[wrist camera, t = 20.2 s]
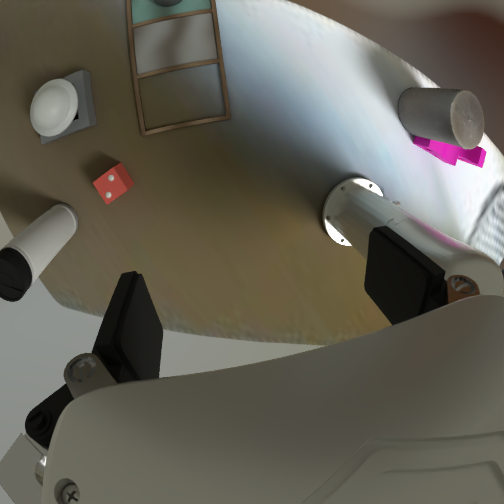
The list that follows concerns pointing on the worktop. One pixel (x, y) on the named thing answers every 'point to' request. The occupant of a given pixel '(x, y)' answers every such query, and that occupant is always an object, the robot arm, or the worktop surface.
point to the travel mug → (34, 250)
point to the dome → (54, 107)
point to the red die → (113, 183)
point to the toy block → (451, 152)
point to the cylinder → (167, 2)
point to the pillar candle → (442, 115)
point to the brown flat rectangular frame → (173, 45)
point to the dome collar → (84, 106)
